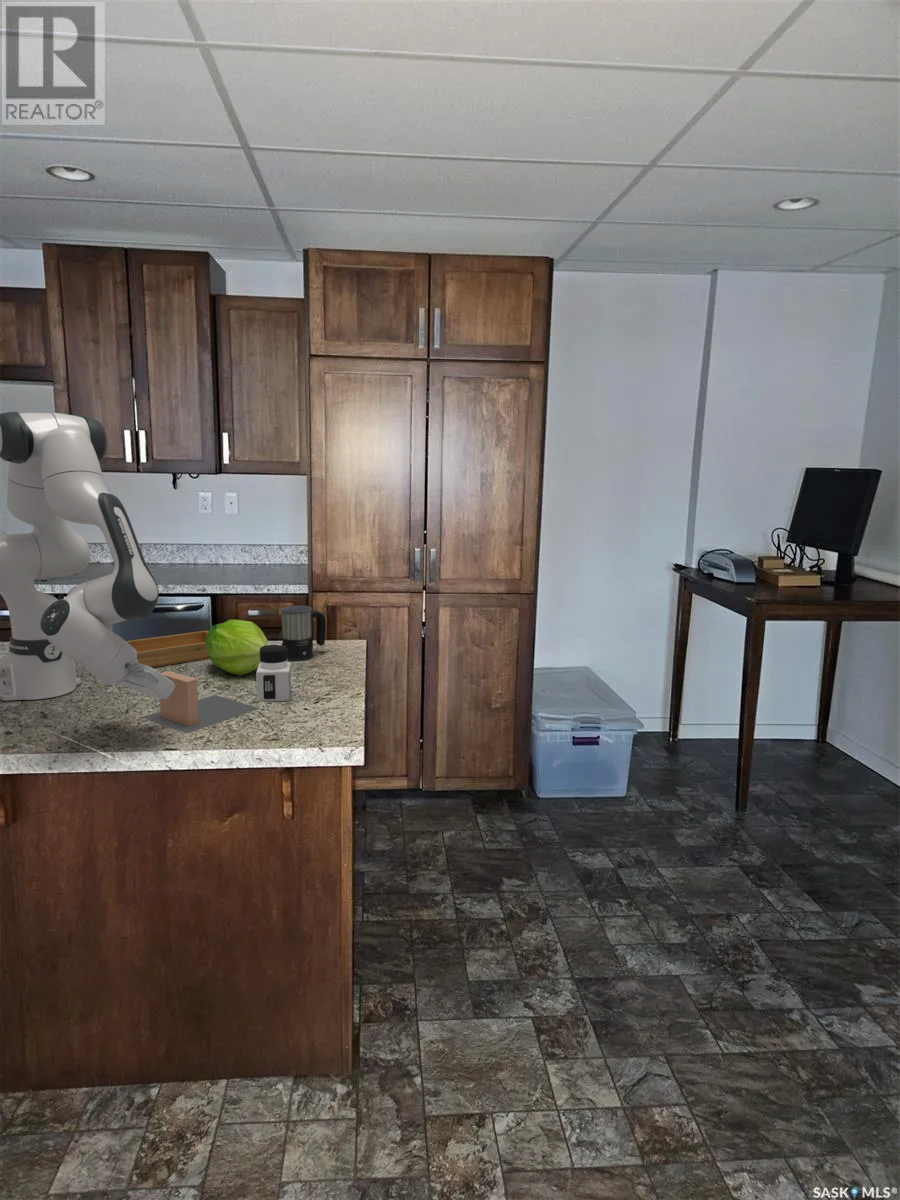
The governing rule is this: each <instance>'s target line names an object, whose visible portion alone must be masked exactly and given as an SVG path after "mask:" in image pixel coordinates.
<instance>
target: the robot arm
mask: <svg viewBox="0 0 900 1200" xmlns="http://www.w3.org/2000/svg"><path fill="white" fill-rule="evenodd" d="M107 438H108V437H107V434H106V430H105V427H104V426H103V424H102V423H101V422H100V421H99V420H97V419H95V418H93V417H89V416H85V415H80V416H79V415H73V414H72V415H71V414H68V413H67V414H66V413H59V412H51V411H50V412H19V411H8V412H7V411H6V412H2V413H0V459H2V460H3V461H5V462H8V469H7V470H8V471H7V488H6V489H7V494H6V495H7V496H6V506H7V509H8V512H9V513H10V514H11V515H12V516H13V517H14V518H15V519H17V520H19V521H21V522H23V523H25V524H27V525H31V526H33V527H32V528H33V529H32V531H31V532H27V533H24V532H23V533H8V534H7V533H6V534H0V595H1V596H2V598H3V601H4V602H5V604H6V606H7V610H8V616H9V620H10V627H11V628H10V629H11V636H10V637H8V639H10V640H9V641H8V646H9V647H8V653H7V654H6V655H5V656H4V658H2V660H0V700H1V701H3V702H4V701H6V702H7V701H18V700H22V701H23V700H24V701H25V700H27V701H28V700H31V701H33V700H43V699H49V698H56V697H60V696H64V695H66V694H68V693H71V692H73V691H74V690H76V687H77V686H78V685H80V684H81V683H82V679H81V678H80V677H77V674H76V668H75V663H74V661H75V662H78V663H79V664H80V667H81V668H82V669H83V670H84V671H86V672H87V673H89V674H90V675H92V676H94V677H95V678H96V679H98V680H99V681H100V682H102V683H103V684H106V685H110V684H111V685H112V684H116V685H120V686H123V687H126V688H128V689H131V690H135V691H137V692H140V693H143V694H146V695H148V696H149V697H151V698H154V699H156V700H159V701H160V700H161V699H168V698H169V696H170V695H171V694H172V692H173V691H174V689H175V687H176V686H175V684H174V683H173V682H172V681H171V680H169V679H168V678H167V677H165V676H164V675H162V674H161V673H162V672H159V670H156V668H154V667H153V668H152V667H149V666H147V665H143V664H140V663H138V661H137V651H136V650H135V648H133V647H132V646H131V645H130V644H128V643H127V642H126V641H127V640H125V639H123V637H121V636H120V635H118V633H117V634H116V633H115V632H114V630H113V627H114V625H115V624H119V623H122V622H125V621H128V620H129V621H130V620H134V619H140V618H145V617H147V616H149V615H151V613H153V611H154V610H155V608H156V606H157V603H158V600H159V596H160V595H159V593H160V591H159V587H158V584H157V582H156V580H155V578H154V576H153V574H152V573H151V571H150V569H149V566H148V565H147V563H146V561H145V558H144V556H143V553H142V549H141V547H140V544H139V541H138V538H137V537H136V533H135V531H134V528H133V526H132V523H131V520H130V518H129V515H128V513H127V511H126V508H125V506H124V505H123V503H122V501H121V500H120V499H119V498H118V496H116V495H114V494H112V493H109V490H108V489H107V487H106V485H105V482H104V477H103V473H102V472H103V471H102V468H101V465H100V462H101V460H102V459H104V457H105V456H106V453H107V446H108V442H107ZM68 522H70V523H76V524H82V525H90V526H92V525H94V526H96V527H97V528H99V530H100V531H101V532H102V534H103V536H104V538H105V541H106V544H107V547H108V549H109V553H110V555H111V558H112V561H113V564H114V569H113V571H112V572H111V573H110V574H107V575H104V576H102V577H97V578H93V579H90V580H88V581H84V582H82V583H80V584H77V585H75V586H73V587H72V588H71V589H70V590H69V591H68V593H67V594H66V596H65V597H64V598H62V599H58V597H57V598H56V597H55V596H53V595H51V594H48V593H46V592H43V591H39V590H37V589H36V585H35V580H38V579H49V578H50V579H52V578H59V577H67V576H70V575H75V574H77V573H80V572H84V570H86V568H87V566H89V563H90V560H91V549H90V546H89V544H88V542H87V541H86V539H85V538H84V537H83V536H82V535H81V534H79V533H77V532H76V531H74V530H73V528H72V527H71V526H70V525H69V524H68Z"/></svg>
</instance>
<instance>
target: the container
mask: <svg viewBox="0 0 900 1200" xmlns="http://www.w3.org/2000/svg"><path fill="white" fill-rule="evenodd" d="M281 644H282V643H281ZM281 644H280V643H268V645H265V646H262V647H261V648H260V663H259V666H258V668H256V669H257V670H256V677H255V678H256V679H255V680H256V700H257V701H261V702H266V703H267V702H289V701H290V699H291V695H292V675H291V673H292V672H291V671H292V668H291V665H292V664H291V662H288V660H287V648H286V646H284V645H281Z"/></svg>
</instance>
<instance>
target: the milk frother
mask: <svg viewBox="0 0 900 1200" xmlns="http://www.w3.org/2000/svg"><path fill="white" fill-rule="evenodd" d="M312 609H313V607H311V606H308V605H289V606H284V607H281V608H280V612H281V634H282V636H281V637H282V638H281V639H282V640H281V641H282V643H281V645H284V646H286V648H287V661H294V662H295V661H306V660H309V659H312V658H314V653H313V649H314V646H313V645H314V642H313V638H314V637H313V618H315V619H316V631H315V632H316V638H315V640H316V644H317V645H318V646H321V647H323V646H324V645H325V643H326V628H327V627H326V625H327V624H326V623H327V622H326V620H327V619H326V616H325V615H324V613H322V612H321V611H319V610H315V609H313V610H312Z"/></svg>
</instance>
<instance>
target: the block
mask: <svg viewBox="0 0 900 1200" xmlns="http://www.w3.org/2000/svg"><path fill="white" fill-rule="evenodd" d="M160 673H161V674H162V675H164V676H165V677H167V678H168V679H169V680H171V681H172V682H173V683H174V684H175V686H176V687H175V689H174V691H173V692H172V694H171V695H170V696H169V698H168V699H161V700H159V712H160V714H161V717H163V718H166V719H169V720H172V721H175V722H178V723H181V724H183V725H186V726H192V725H195V724H198V723H199V718H198V700H199V698H198V697H199V696H198V695H199V693H198V679H197V678H194V677H192V676H191V677H190V676H186V675H183V674H180V673H176V672H173V671H169V670H167V671H163V672H160Z"/></svg>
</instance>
